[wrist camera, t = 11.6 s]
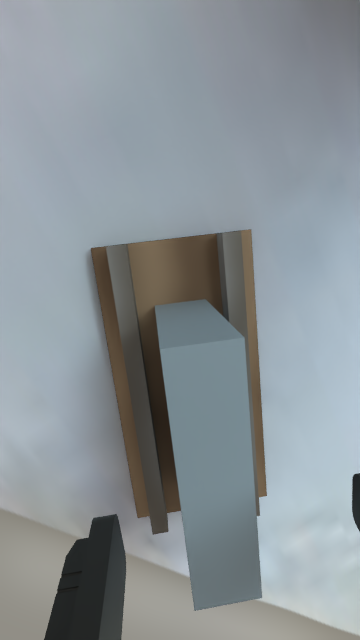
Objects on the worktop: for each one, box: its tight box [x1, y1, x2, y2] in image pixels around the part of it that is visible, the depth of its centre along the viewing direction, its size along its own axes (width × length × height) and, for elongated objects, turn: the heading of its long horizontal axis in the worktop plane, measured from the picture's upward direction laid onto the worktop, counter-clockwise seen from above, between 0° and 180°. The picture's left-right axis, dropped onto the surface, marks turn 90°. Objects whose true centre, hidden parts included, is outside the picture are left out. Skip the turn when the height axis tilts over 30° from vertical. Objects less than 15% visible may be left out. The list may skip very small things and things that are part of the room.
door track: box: [91, 230, 267, 534], centre depth 20 cm, size 9×18×2 cm, turn 6°
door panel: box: [155, 299, 262, 611], centre depth 17 cm, size 3×12×8 cm, turn 6°
